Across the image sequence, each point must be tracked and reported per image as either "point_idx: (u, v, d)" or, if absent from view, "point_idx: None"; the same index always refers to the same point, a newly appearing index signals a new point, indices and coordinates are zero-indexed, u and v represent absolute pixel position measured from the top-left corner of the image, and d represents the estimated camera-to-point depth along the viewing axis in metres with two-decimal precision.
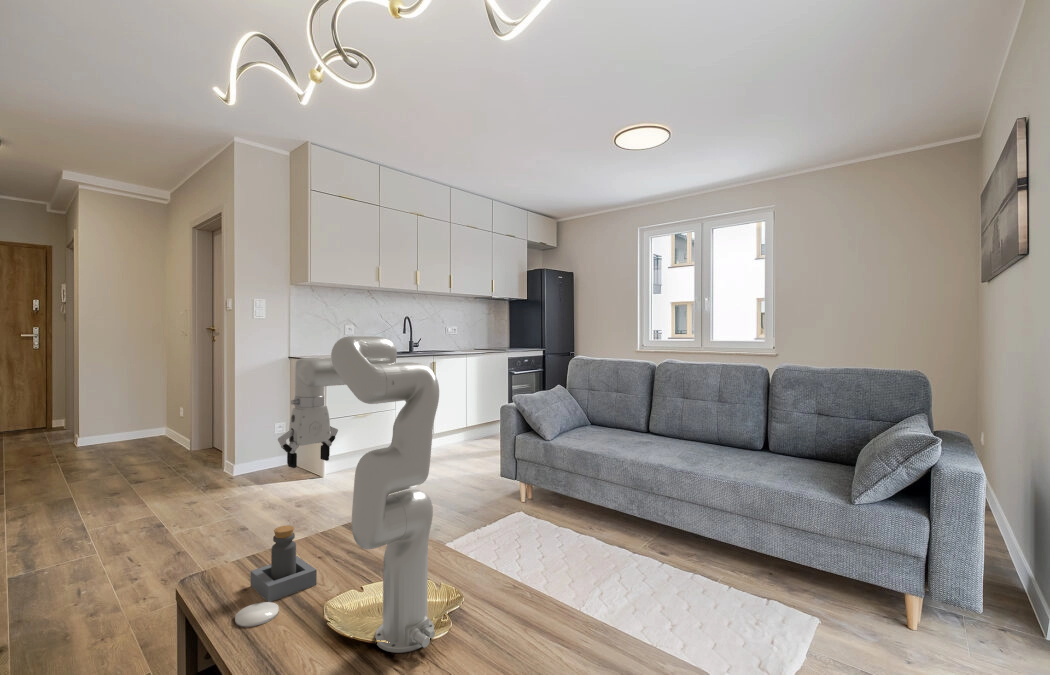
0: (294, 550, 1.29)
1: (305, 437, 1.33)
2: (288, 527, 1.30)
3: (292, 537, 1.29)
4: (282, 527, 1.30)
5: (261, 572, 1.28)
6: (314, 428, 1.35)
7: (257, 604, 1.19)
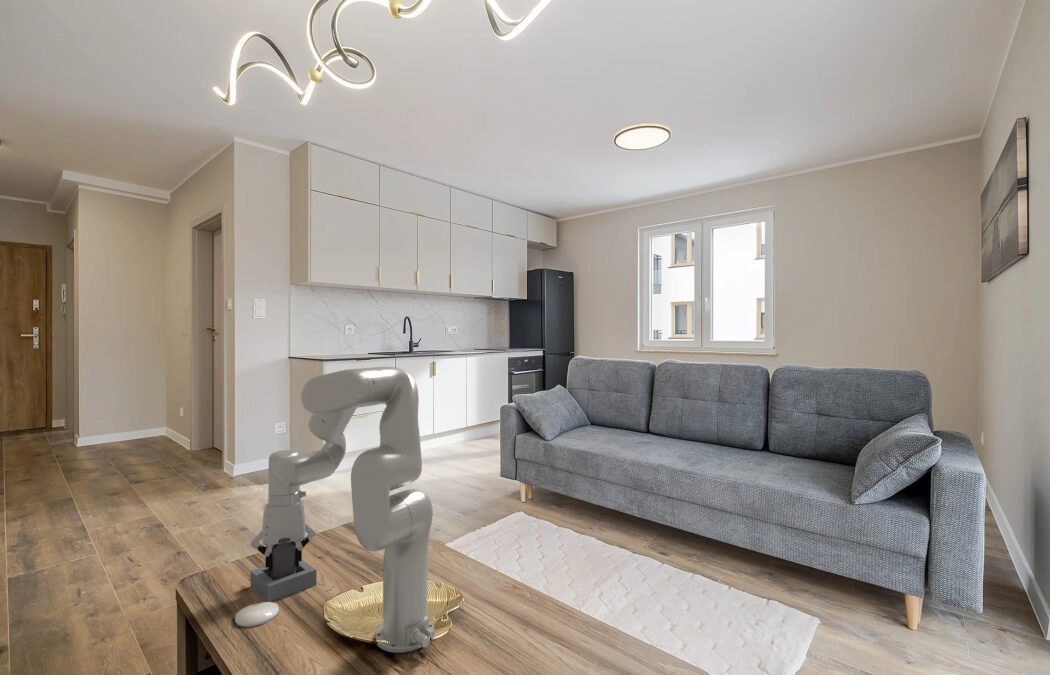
0: (294, 550, 1.29)
1: None
2: None
3: None
4: None
5: (261, 572, 1.28)
6: None
7: (257, 604, 1.19)
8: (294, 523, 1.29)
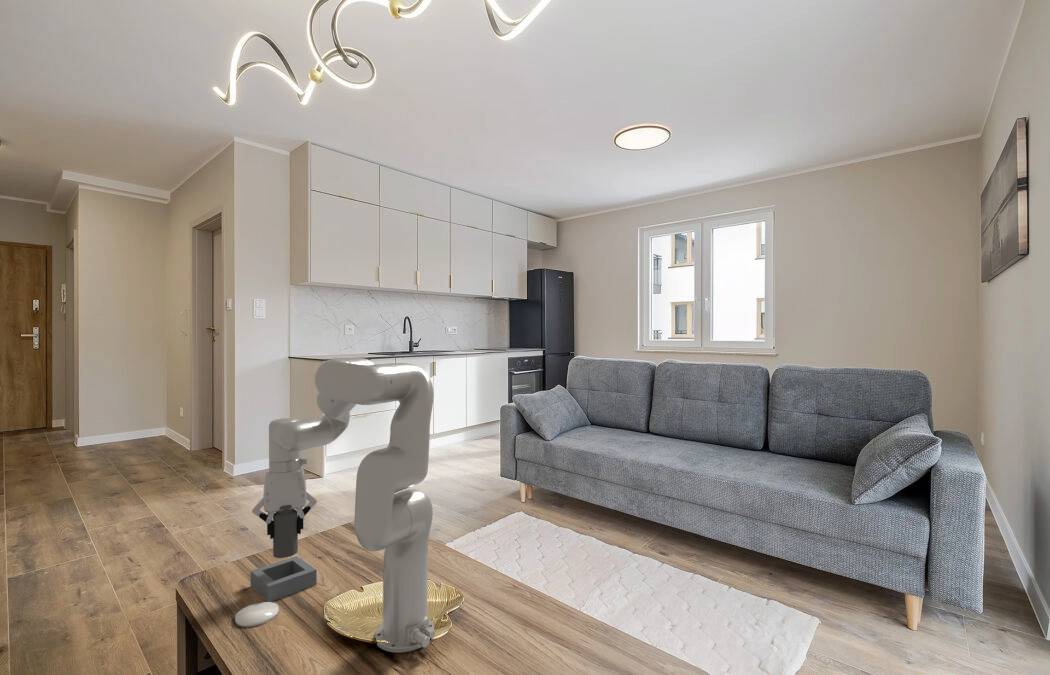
0: (296, 518, 1.29)
1: None
2: None
3: None
4: None
5: (261, 572, 1.28)
6: None
7: (257, 604, 1.19)
8: (295, 490, 1.28)
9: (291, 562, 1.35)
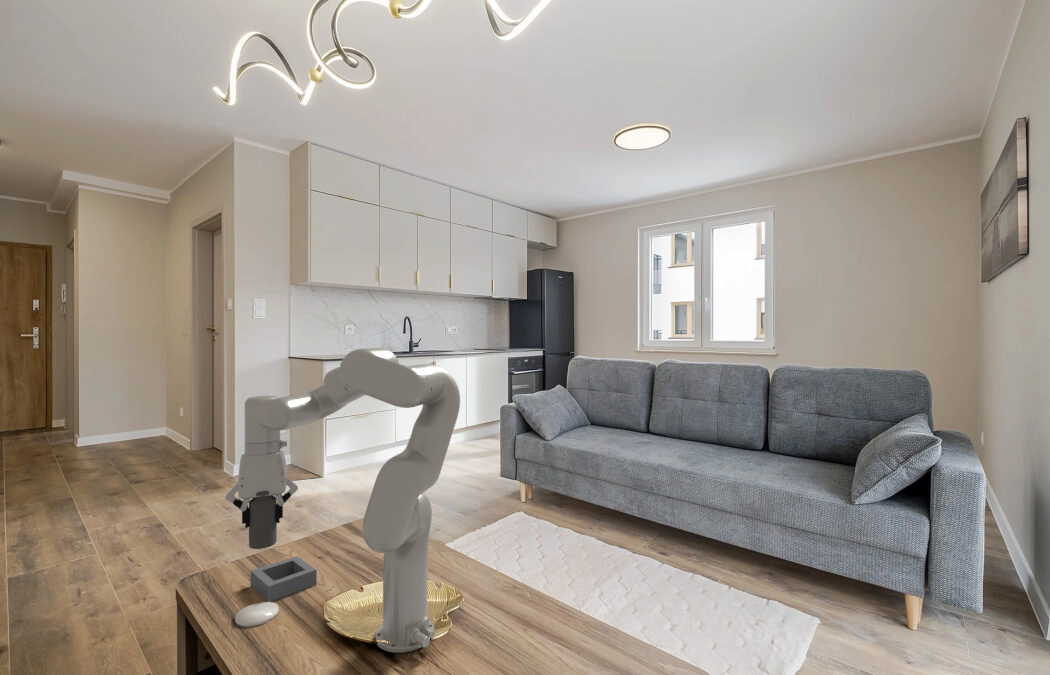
0: (274, 505, 1.17)
1: None
2: None
3: None
4: None
5: (261, 572, 1.28)
6: None
7: (257, 604, 1.19)
8: (273, 475, 1.16)
9: (291, 562, 1.35)
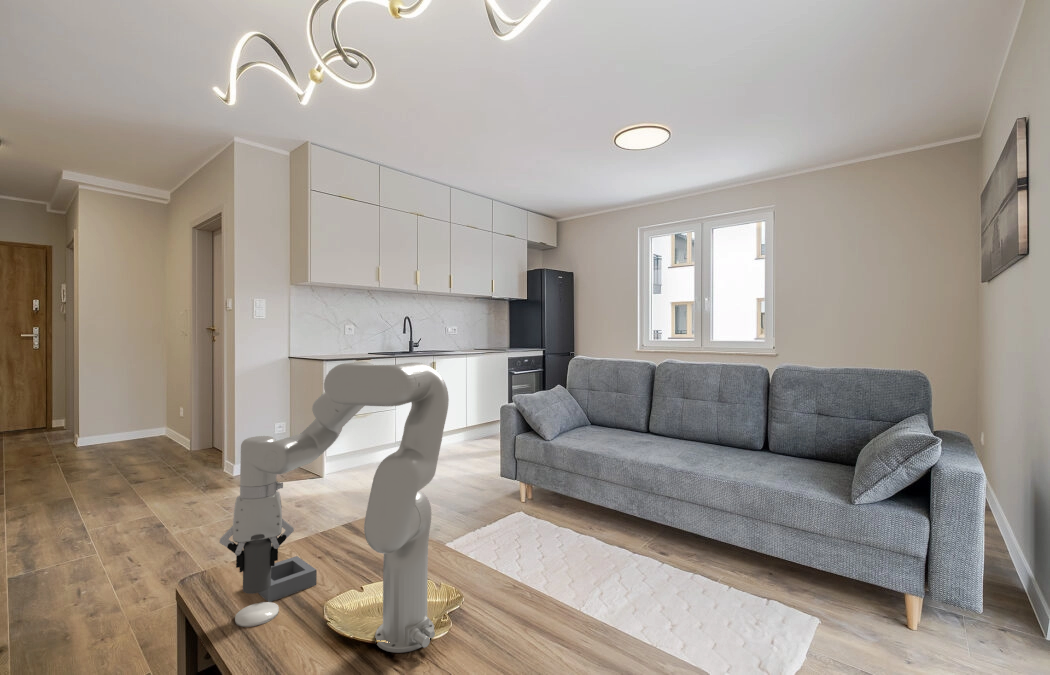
0: (269, 548, 1.15)
1: None
2: None
3: None
4: None
5: None
6: None
7: (257, 604, 1.19)
8: (269, 518, 1.14)
9: (291, 562, 1.35)
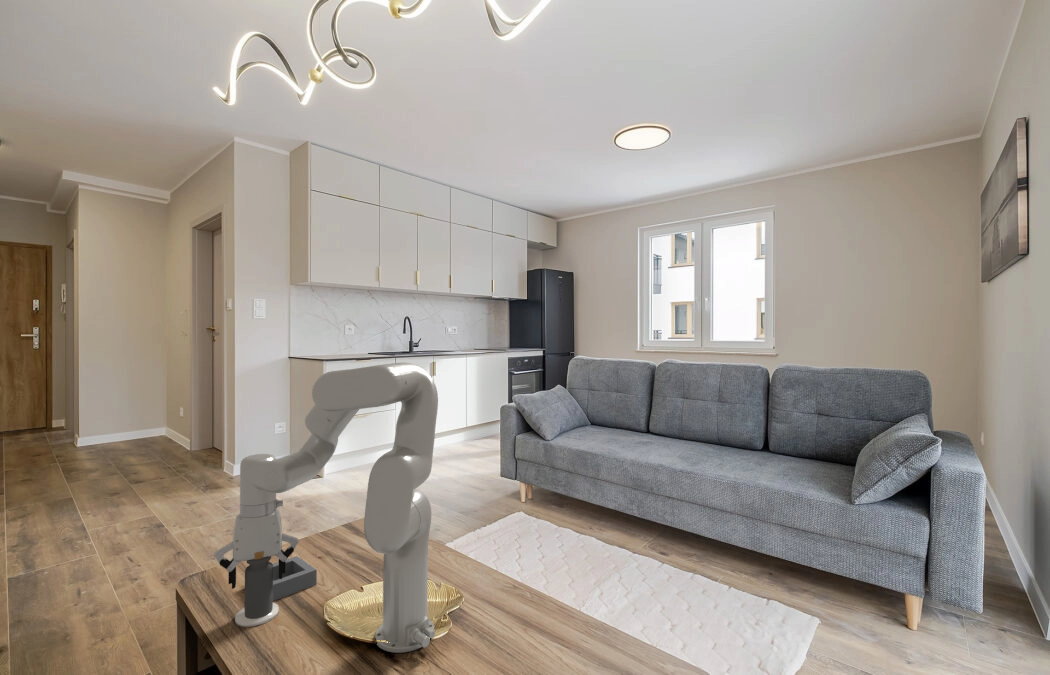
0: (270, 572, 1.15)
1: None
2: None
3: (268, 558, 1.15)
4: None
5: None
6: None
7: None
8: (269, 536, 1.14)
9: (291, 562, 1.35)
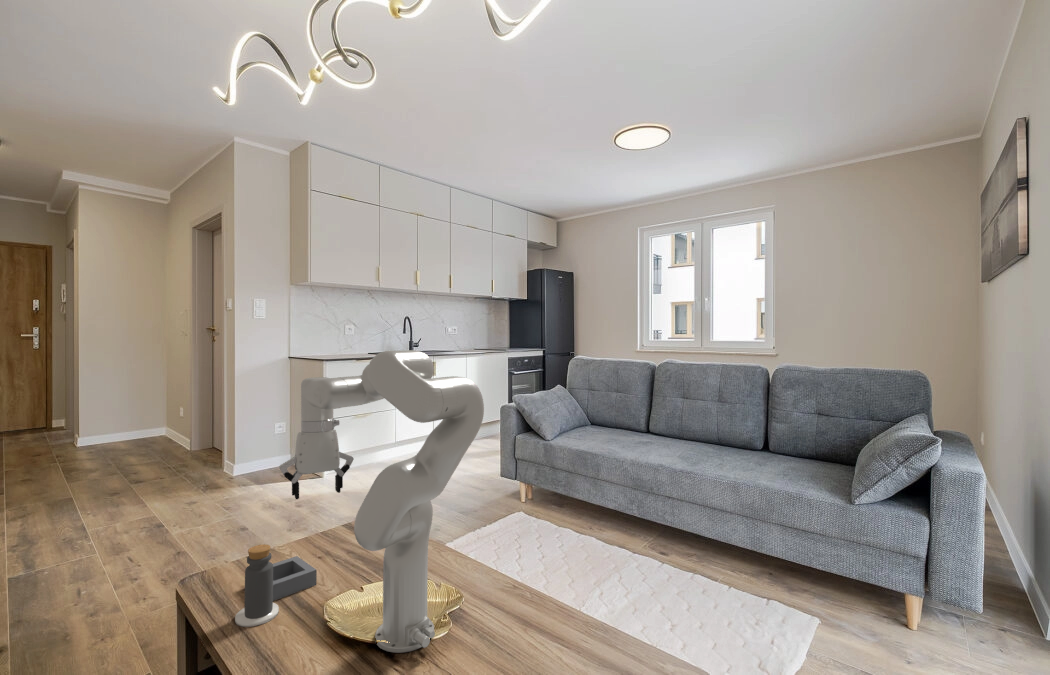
0: (271, 572, 1.15)
1: None
2: (264, 546, 1.16)
3: (268, 558, 1.15)
4: (257, 546, 1.16)
5: None
6: None
7: None
8: (329, 451, 1.23)
9: (291, 562, 1.35)
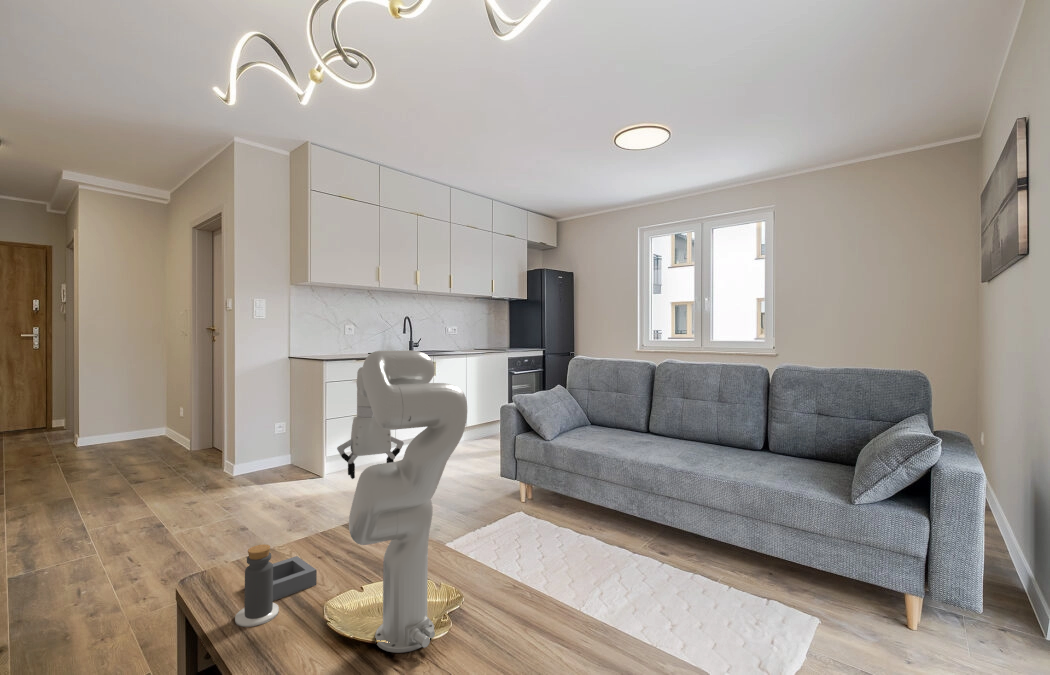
0: (270, 572, 1.15)
1: None
2: (264, 546, 1.16)
3: (268, 558, 1.15)
4: (257, 546, 1.16)
5: None
6: None
7: None
8: (382, 435, 1.32)
9: (291, 562, 1.35)
